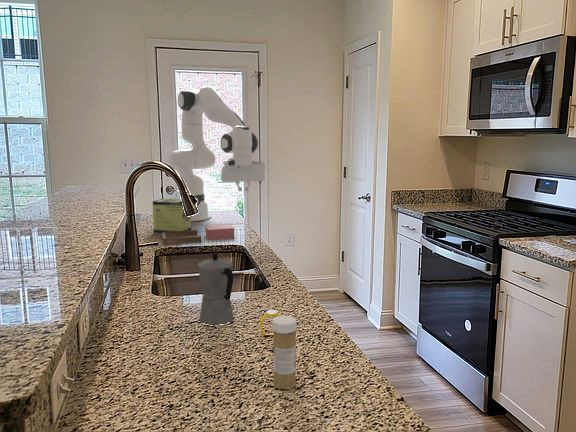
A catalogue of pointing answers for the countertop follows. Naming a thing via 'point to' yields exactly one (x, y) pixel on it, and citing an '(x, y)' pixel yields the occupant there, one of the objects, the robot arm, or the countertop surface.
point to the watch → (271, 314)
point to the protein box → (170, 216)
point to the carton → (219, 232)
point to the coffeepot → (216, 290)
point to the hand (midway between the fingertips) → (243, 191)
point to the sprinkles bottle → (284, 351)
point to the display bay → (181, 239)
